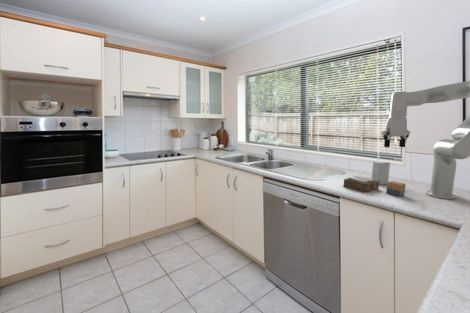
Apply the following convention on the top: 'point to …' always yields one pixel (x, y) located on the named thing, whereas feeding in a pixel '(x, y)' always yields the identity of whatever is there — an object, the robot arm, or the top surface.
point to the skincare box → (381, 171)
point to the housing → (395, 188)
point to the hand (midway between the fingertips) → (394, 147)
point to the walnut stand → (361, 183)
